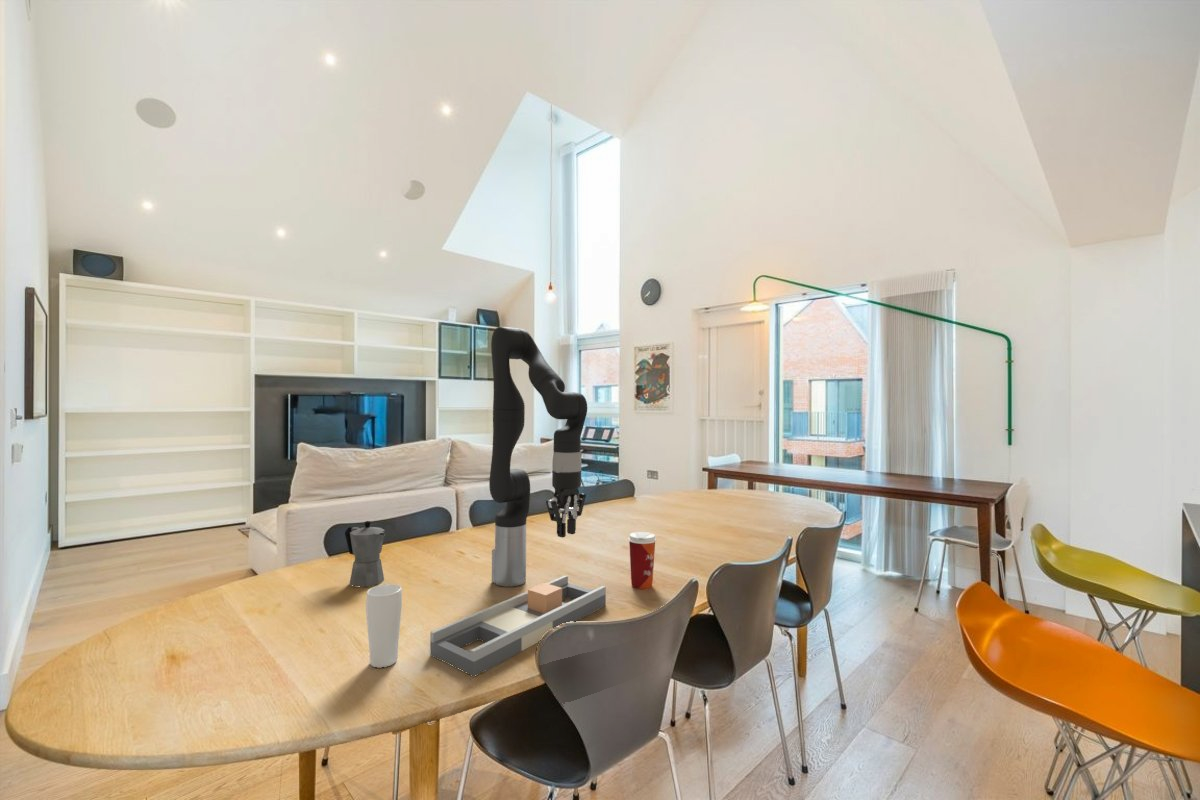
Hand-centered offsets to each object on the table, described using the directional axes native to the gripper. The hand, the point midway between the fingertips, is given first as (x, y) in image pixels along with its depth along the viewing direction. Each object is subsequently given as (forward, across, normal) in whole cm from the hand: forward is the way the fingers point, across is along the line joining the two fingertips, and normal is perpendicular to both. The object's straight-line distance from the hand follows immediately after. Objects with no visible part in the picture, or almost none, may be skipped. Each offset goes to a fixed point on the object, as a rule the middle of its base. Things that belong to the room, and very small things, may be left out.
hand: (566, 534), depth 133 cm
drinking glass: (+19, +44, -12) cm, 49 cm away
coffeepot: (+19, +22, -60) cm, 66 cm away
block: (+16, +8, 0) cm, 18 cm away
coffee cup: (+19, -26, +7) cm, 33 cm away
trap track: (+19, +14, 0) cm, 24 cm away
